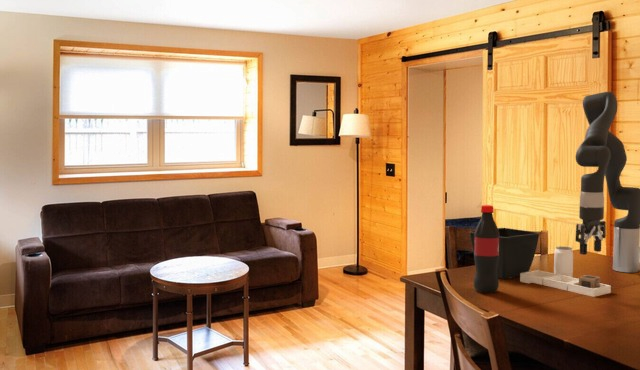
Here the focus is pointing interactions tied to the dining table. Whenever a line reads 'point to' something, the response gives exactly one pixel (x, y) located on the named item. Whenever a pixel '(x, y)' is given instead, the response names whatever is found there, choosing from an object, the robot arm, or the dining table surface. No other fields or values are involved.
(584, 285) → the letter cube
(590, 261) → the dining table surface
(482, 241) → the cola bottle
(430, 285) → the dining table surface
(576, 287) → the dish
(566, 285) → the dish
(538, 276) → the dish
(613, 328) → the dining table surface
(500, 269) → the flower pot
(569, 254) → the can
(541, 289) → the dining table surface
